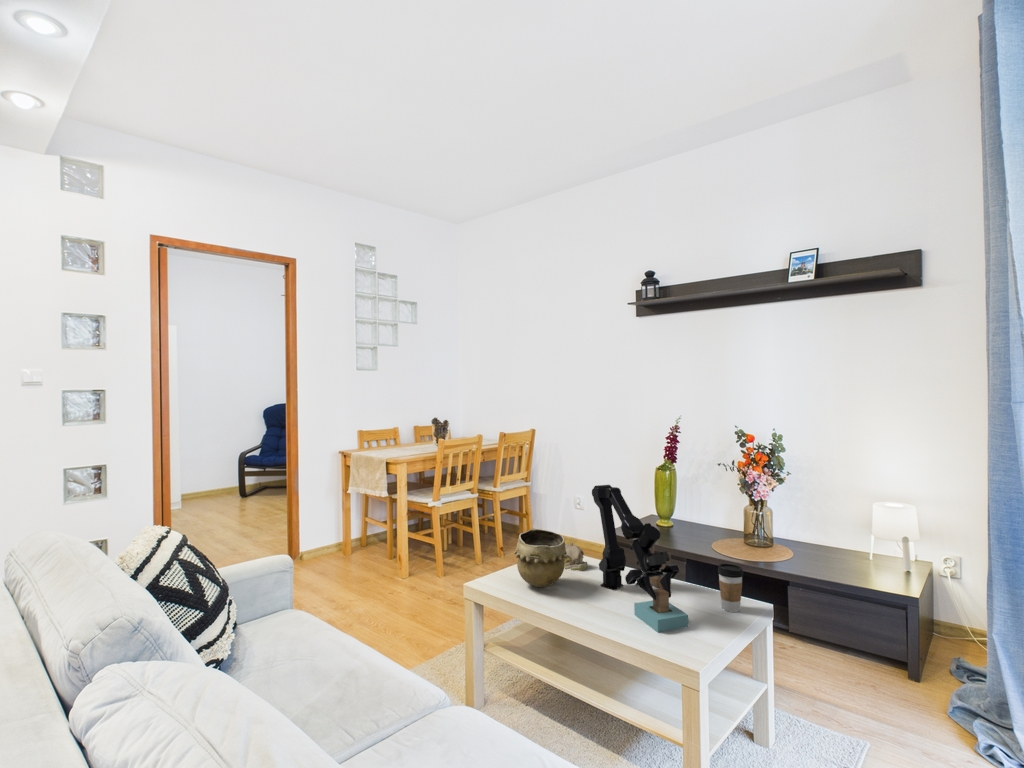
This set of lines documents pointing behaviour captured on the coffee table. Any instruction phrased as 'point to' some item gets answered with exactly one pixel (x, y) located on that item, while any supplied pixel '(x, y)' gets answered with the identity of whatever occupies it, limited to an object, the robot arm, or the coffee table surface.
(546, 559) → the clay pot
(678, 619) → the teal square hole block
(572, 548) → the ceramic model
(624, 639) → the coffee table surface
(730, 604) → the coffee cup
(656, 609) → the square peg
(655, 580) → the wooden block
